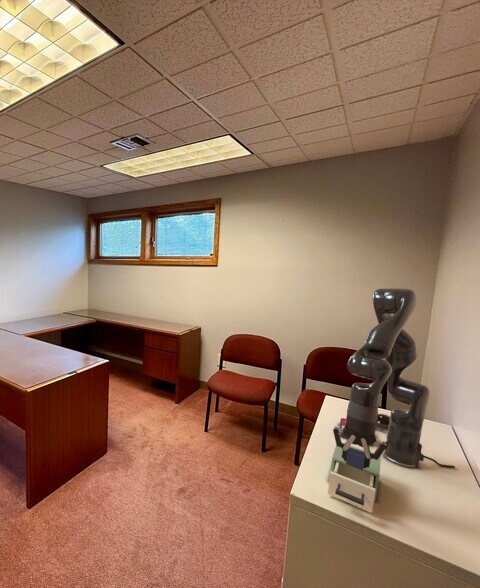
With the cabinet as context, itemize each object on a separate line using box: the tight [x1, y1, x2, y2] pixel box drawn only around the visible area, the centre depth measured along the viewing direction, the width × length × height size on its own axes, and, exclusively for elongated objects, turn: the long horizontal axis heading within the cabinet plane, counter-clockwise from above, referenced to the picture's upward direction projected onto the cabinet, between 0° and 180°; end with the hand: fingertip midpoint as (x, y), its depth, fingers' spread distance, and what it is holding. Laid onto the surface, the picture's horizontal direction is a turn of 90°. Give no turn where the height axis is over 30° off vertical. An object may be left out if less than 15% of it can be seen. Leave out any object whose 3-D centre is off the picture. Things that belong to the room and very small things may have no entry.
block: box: [346, 447, 365, 470], centre depth 106 cm, size 4×4×4 cm
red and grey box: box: [339, 417, 373, 446], centre depth 147 cm, size 11×4×15 cm
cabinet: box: [328, 442, 382, 502], centre depth 115 cm, size 15×13×10 cm
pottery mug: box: [376, 413, 390, 431], centre depth 154 cm, size 12×10×8 cm
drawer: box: [327, 462, 376, 514], centre depth 107 cm, size 19×11×8 cm, turn 136°
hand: (354, 463), depth 107 cm, fingers closed on block, 4 cm apart
